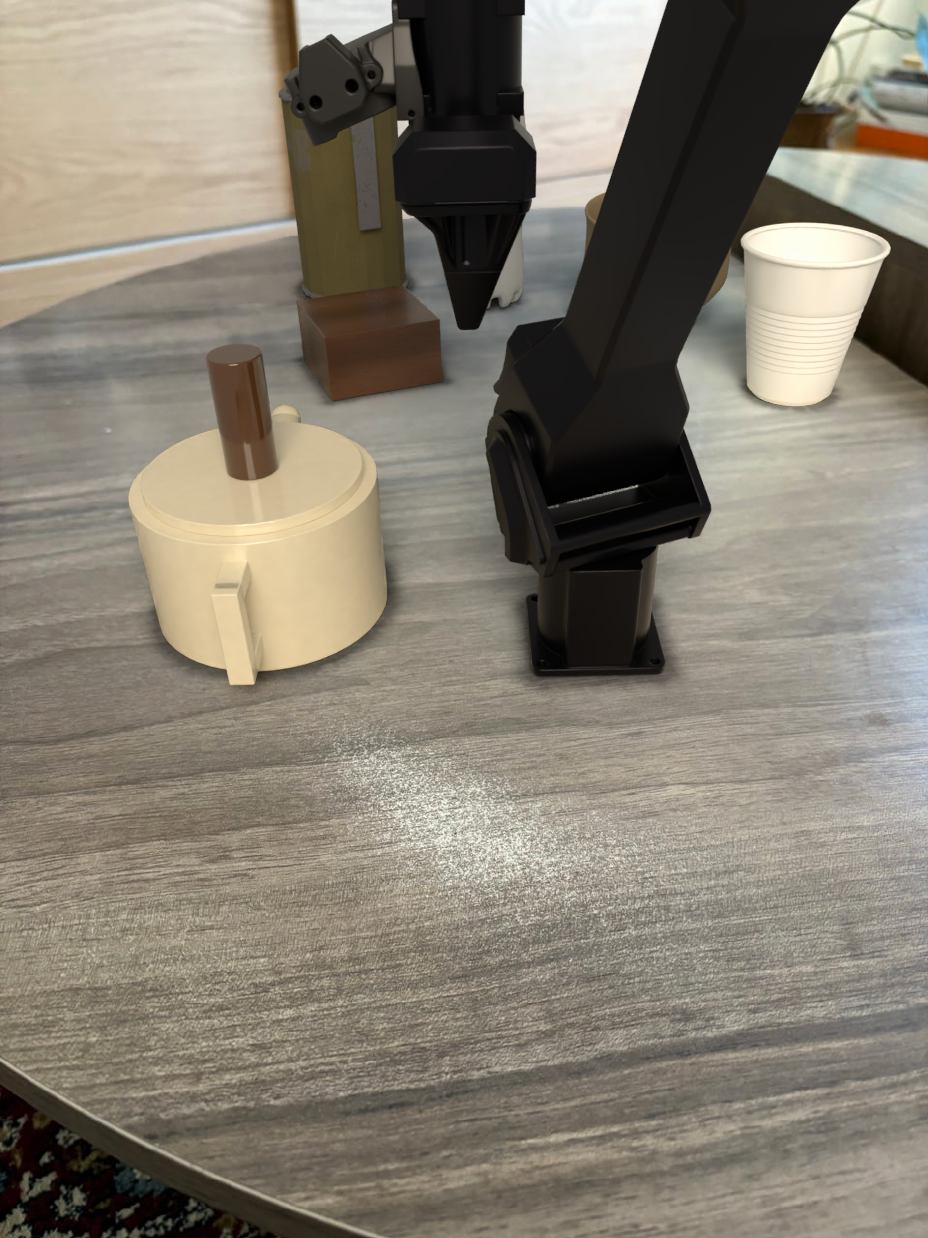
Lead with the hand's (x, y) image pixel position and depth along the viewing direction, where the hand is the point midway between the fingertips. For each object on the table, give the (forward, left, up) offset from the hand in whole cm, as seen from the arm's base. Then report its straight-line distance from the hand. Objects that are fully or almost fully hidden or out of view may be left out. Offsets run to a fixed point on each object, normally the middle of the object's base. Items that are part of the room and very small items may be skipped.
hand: (467, 299), depth 55 cm
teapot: (-10, +11, -13) cm, 20 cm away
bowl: (+31, -16, -13) cm, 37 cm away
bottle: (+38, -2, -13) cm, 40 cm away
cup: (+16, -24, -13) cm, 32 cm away
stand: (+22, +8, -13) cm, 27 cm away
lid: (-10, +11, -6) cm, 16 cm away
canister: (+43, +11, -13) cm, 46 cm away
